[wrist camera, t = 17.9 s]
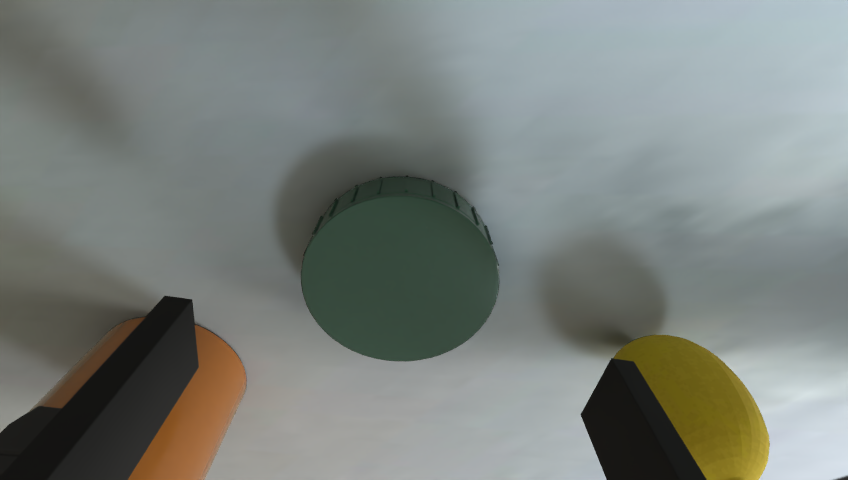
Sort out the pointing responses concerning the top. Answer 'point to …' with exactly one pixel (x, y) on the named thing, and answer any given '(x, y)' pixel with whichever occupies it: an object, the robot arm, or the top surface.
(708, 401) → the lemon
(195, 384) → the jam jar
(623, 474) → the robot arm
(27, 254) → the top surface
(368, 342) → the jar lid
